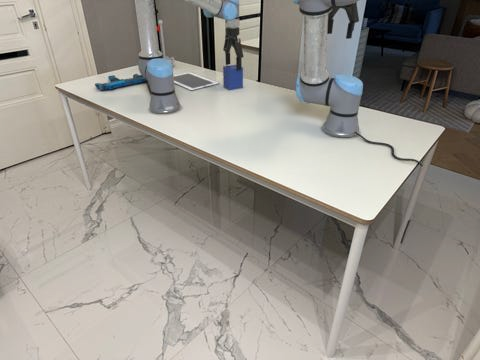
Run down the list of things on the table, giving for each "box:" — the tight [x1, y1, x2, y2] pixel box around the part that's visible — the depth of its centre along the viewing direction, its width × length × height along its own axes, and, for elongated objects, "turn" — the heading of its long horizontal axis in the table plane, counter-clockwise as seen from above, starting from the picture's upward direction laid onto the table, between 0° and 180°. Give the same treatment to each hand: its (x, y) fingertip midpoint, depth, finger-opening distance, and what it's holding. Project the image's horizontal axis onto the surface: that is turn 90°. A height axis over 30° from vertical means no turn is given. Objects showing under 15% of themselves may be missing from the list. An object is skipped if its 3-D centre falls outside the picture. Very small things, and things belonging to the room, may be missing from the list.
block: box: [222, 64, 244, 91], centre depth 198 cm, size 9×8×12 cm
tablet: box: [173, 71, 220, 91], centre depth 211 cm, size 32×20×1 cm, turn 41°
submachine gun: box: [94, 73, 148, 91], centre depth 208 cm, size 34×4×25 cm
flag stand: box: [156, 19, 176, 67], centre depth 232 cm, size 13×13×30 cm
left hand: (233, 67), depth 195 cm, fingers open, 13 cm apart
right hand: (338, 36), depth 162 cm, fingers open, 13 cm apart
